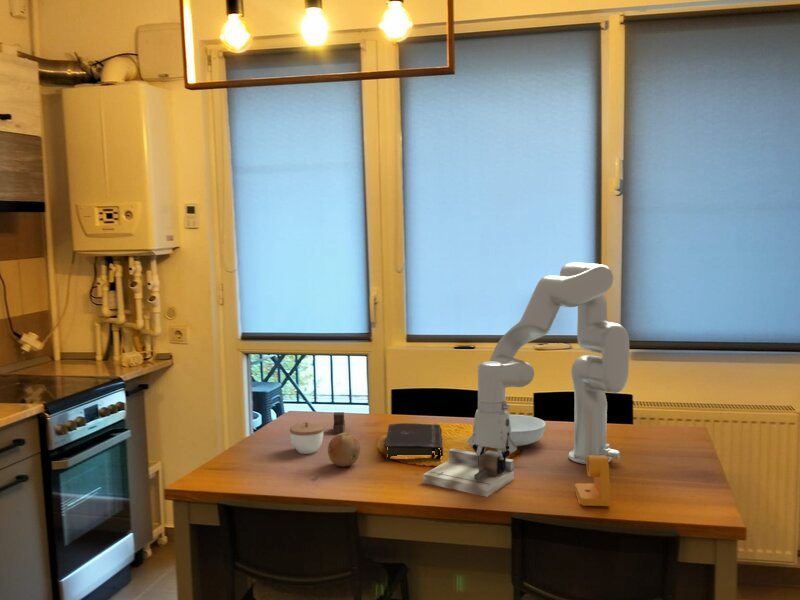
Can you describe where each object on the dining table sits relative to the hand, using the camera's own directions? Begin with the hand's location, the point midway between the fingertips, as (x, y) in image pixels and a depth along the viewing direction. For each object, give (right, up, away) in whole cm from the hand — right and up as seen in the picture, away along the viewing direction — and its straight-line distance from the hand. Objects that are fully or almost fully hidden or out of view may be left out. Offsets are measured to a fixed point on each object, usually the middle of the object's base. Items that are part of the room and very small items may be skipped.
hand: (491, 469), depth 206 cm
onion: (-42, -3, +16) cm, 45 cm away
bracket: (+24, -5, -14) cm, 28 cm away
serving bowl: (+11, 0, +36) cm, 38 cm away
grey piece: (-6, -3, +1) cm, 7 cm away
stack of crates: (-45, +1, +53) cm, 69 cm away
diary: (-21, -1, +33) cm, 39 cm away
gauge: (-2, -1, -2) cm, 3 cm away
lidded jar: (-55, -1, +31) cm, 63 cm away
